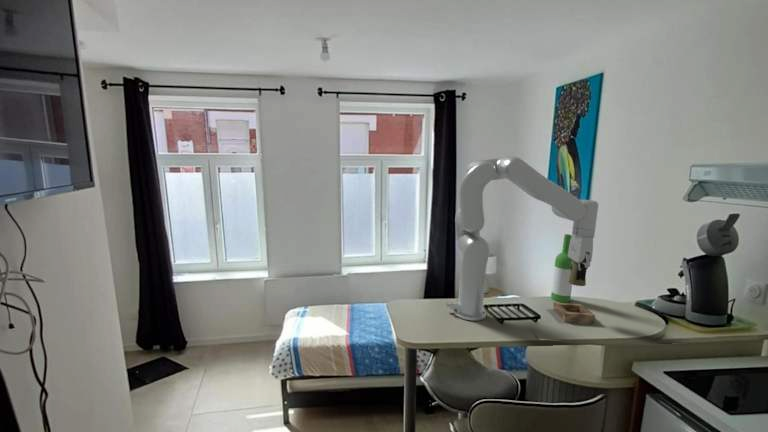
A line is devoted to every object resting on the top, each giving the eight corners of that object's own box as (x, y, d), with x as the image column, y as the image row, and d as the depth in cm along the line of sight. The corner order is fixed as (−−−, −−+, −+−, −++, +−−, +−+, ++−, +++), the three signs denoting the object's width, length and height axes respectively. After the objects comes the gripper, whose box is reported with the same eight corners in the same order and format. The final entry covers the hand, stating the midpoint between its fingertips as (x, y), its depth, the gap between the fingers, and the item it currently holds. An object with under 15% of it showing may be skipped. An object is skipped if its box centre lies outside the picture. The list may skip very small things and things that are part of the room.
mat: (558, 323, 138) (558, 322, 138) (545, 310, 150) (545, 309, 150) (596, 326, 137) (596, 325, 137) (580, 312, 150) (580, 311, 150)
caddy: (564, 322, 138) (565, 313, 138) (552, 310, 149) (553, 302, 149) (593, 324, 138) (595, 315, 137) (580, 312, 149) (581, 304, 148)
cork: (587, 286, 138) (591, 258, 136) (570, 285, 139) (574, 257, 137) (582, 281, 144) (586, 254, 142) (566, 280, 145) (569, 253, 143)
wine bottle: (546, 297, 165) (554, 233, 160) (560, 296, 167) (568, 232, 162) (559, 304, 157) (567, 237, 153) (573, 303, 160) (582, 236, 155)
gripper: (563, 227, 147) (558, 271, 150) (583, 236, 130) (577, 284, 133) (582, 228, 146) (577, 272, 149) (605, 237, 130) (598, 286, 133)
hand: (577, 277), depth 141 cm, fingers closed on cork, 4 cm apart
